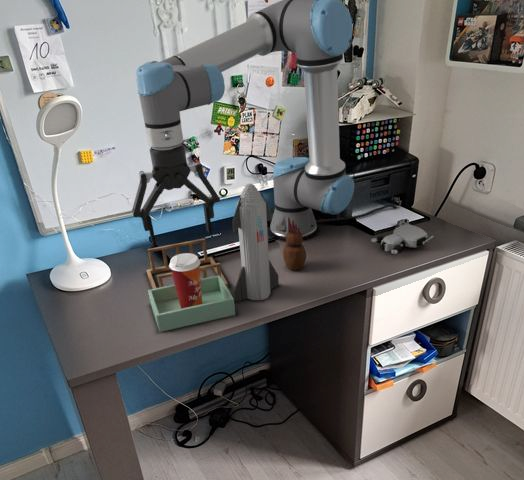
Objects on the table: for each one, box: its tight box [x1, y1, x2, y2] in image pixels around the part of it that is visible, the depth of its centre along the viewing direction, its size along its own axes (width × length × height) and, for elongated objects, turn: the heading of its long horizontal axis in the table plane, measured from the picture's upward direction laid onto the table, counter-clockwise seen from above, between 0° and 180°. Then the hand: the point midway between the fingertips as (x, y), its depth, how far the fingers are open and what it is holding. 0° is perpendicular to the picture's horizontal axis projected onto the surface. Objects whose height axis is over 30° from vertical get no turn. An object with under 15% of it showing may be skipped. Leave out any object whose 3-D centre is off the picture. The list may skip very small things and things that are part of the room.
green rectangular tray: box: [147, 274, 236, 333], centre depth 136 cm, size 20×14×5 cm
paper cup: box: [168, 252, 202, 309], centre depth 133 cm, size 8×8×14 cm
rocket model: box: [231, 183, 279, 303], centre depth 134 cm, size 14×7×30 cm, turn 124°
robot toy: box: [371, 222, 434, 255], centre depth 159 cm, size 12×4×15 cm
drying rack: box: [145, 238, 229, 289], centre depth 149 cm, size 20×18×8 cm
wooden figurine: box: [282, 217, 307, 271], centre depth 149 cm, size 7×6×15 cm
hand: (181, 236), depth 126 cm, fingers open, 13 cm apart
